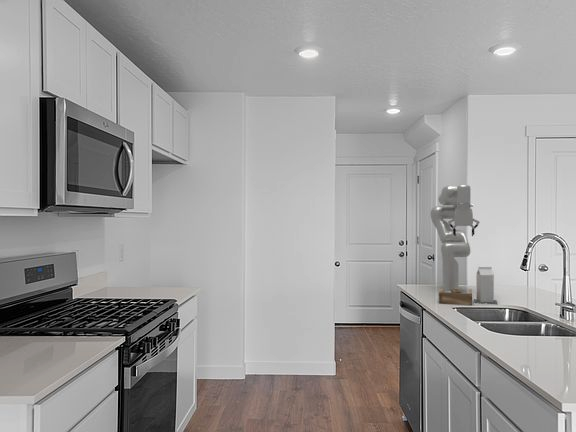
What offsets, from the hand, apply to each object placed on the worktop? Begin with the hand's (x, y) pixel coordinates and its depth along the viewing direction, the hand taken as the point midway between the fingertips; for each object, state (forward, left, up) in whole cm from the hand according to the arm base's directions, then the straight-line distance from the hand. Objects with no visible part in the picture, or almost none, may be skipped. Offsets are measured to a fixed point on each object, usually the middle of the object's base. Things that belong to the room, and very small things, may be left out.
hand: (463, 235), depth 291 cm
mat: (+9, +12, -36) cm, 39 cm away
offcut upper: (+8, -4, -34) cm, 35 cm away
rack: (+14, -4, -36) cm, 39 cm away
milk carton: (+9, +11, -36) cm, 39 cm away
